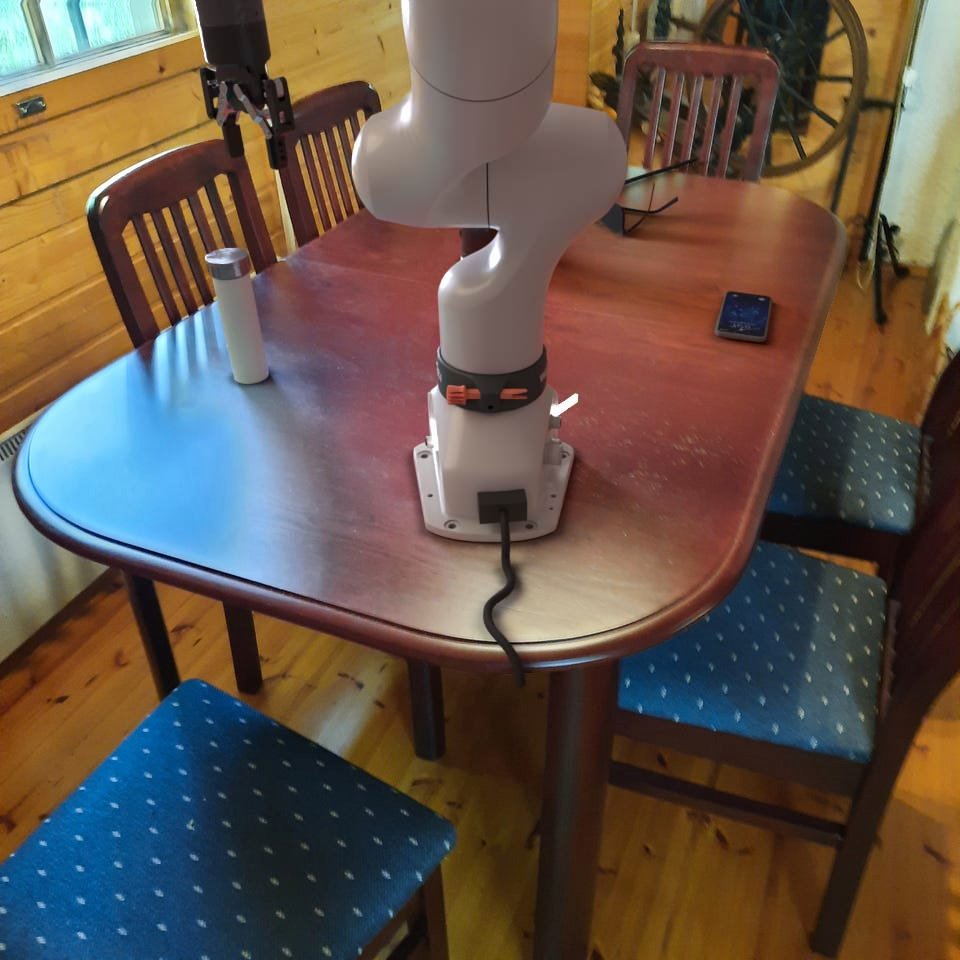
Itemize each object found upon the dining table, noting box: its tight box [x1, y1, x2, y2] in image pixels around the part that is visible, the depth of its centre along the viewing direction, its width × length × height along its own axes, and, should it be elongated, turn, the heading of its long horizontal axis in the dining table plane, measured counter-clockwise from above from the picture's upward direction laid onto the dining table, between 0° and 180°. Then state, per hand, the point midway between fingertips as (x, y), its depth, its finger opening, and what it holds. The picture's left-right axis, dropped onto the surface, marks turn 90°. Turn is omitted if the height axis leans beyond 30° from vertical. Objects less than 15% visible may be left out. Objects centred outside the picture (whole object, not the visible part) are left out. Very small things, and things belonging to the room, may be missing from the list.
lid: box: [205, 247, 252, 279], centre depth 108 cm, size 5×5×2 cm
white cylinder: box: [211, 271, 270, 385], centre depth 113 cm, size 5×5×17 cm
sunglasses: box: [598, 181, 679, 236], centre depth 161 cm, size 17×14×5 cm
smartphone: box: [714, 290, 774, 343], centre depth 128 cm, size 7×1×15 cm
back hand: (257, 162), depth 107 cm, fingers open, 8 cm apart
